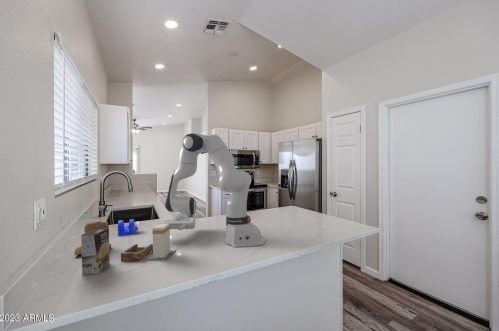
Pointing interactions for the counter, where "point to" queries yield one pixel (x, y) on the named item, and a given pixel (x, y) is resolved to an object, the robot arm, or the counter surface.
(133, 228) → the bracket
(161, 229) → the striped white pillar
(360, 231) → the counter surface
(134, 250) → the holder
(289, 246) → the counter surface
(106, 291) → the counter surface
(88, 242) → the coffee box
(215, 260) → the counter surface
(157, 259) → the mat
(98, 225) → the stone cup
